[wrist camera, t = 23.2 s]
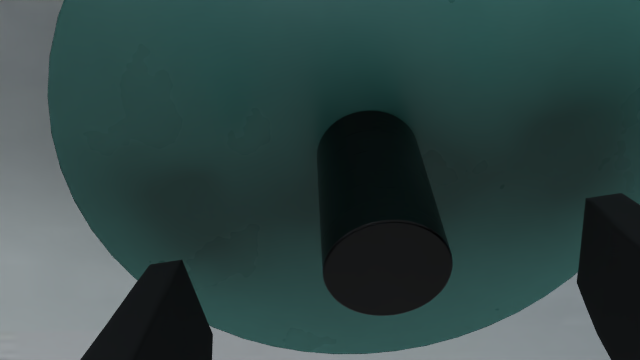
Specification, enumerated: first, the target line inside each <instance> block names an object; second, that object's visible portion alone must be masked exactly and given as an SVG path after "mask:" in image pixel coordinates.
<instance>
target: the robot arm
mask: <svg viewBox="0 0 640 360" xmlns="http://www.w3.org/2000/svg"><path fill="white" fill-rule="evenodd" d="M577 284H578V287H579V289H580V292H581V294H582V297H583V300H584V302H585V305H586V308H587V310H588V313H589V315H590V317H591V320H592V322H593V325H594V327H595V330H596V332H597V334H598V336H599V338H600V340H601V342H602V344H603V346H604V347H605V349H606V351H607V353H608V355H609V356H610V358H611V360H640V205H639V204H638V203H636V202H635V201H633V200H632V199H630V198H629V197H627V196H626V195H624V194H623V193H618V194H611V195H605V196H598V197H591V198H586V200H585V209H584V219H583V229H582V238H581V248H580V258H579V267H578V277H577ZM212 340H213V334H212V331H211V329H210V327H209V324H208V322H207V319H206V317H205V314H204V312H203V309H202V307H201V305H200V302H199V300H198V297H197V295H196V292H195V290H194V288H193V285H192V283H191V280H190V278H189V275H188V273H187V270H186V268H185V266H184V263H183V261H182V260H176V261H169V262H163V263H156V264H150V265H149V266H148V268H147V269H146V270H145V272H144V273H143V274H142V276H141V277H140V278H139V280H138V281H137V283H136V284H135V285H134V287H133V288H132V290H131V291H130V292H129V294H128V295H127V297H126V298H125V299H124V301H123V302H122V304H121V305H120V306H119V308H118V309H117V311H116V312H115V313H114V315H113V316H112V318H111V319H110V320H109V322H108V323H107V325H106V326H105V327H104V329H103V330H102V331H101V333H100V334H99V335H98V337H97V338H96V339H95V341H94V342H93V343H92V345H91V346H90V348H89V349H88V350H87V352H86V353H85V354H84V356H83V357H82V358H81V360H212Z"/></svg>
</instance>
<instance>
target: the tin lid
mask: <svg viewBox="0 0 640 360" xmlns="http://www.w3.org/2000/svg"><path fill="white" fill-rule="evenodd" d="M48 105H49V114H50V124H51V133H52V137H53V141H54V145H55V149H56V153H57V156H58V160H59V164H60V168H61V171H62V173H63V175H64V178H65V180H66V182H67V185H68V187H69V189H70V192H71V194H72V197H73V199H74V201H75V203H76V204H77V206H78V208H79V209H80V211H81V213H82V215H83V216H84V218H85V220H86V221H87V223H88V225H89V226H90V228H91V230H92V231H93V232H94V233H95V235H96V236H97V237H98V238H99V240H100V241H101V242H102V244H103V245H104V246H105V247H106V249H107V250H108V251H109V252H110V254H111V255H112V256H113V257H114V258H115V259H116V260H117V261H118V262H119V263H120V264H121V265H122V266H123V267H124V268H125V269H126V270H127V271H128V272H129V273H130V274H131V275H132V276H133V277H134V278H135V279H137V280H139V278H140V277H141V276H142V274H143V273H144V272H145V270H146V269H147V268H148V266H149V265H150V264H156V263H163V262H169V261H176V260H182V261H183V263H184V266H185V268H186V270H187V273H188V275H189V278H190V280H191V283H192V285H193V288H194V290H195V292H196V295H197V297H198V300H199V302H200V305H201V307H202V309H203V312H204V314H205V317H206V319H207V322H208V324H209V325H210V326H212V327H214V328H216V329H219V330H222V331H224V332H227V333H230V334H233V335H235V336H238V337H241V338H244V339H247V340H251V341H255V342H259V343H262V344H266V345H270V346H274V347H280V348H286V349H292V350H297V351H303V352H316V353H328V354H368V353H379V352H390V351H399V350H404V349H410V348H415V347H421V346H427V345H430V344H434V343H438V342H442V341H445V340H449V339H453V338H457V337H460V336H462V335H465V334H468V333H471V332H473V331H476V330H479V329H482V328H484V327H487V326H489V325H492V324H494V323H496V322H498V321H500V320H502V319H504V318H507V317H509V316H511V315H513V314H515V313H517V312H519V311H521V310H522V309H524V308H526V307H528V306H529V305H531V304H533V303H534V302H536V301H538V300H540V299H541V298H543V297H545V296H546V295H548V294H549V293H550V292H552V291H553V290H555V289H556V288H557V287H559V286H560V285H562V284H563V283H564V282H566V281H567V280H569V279H570V278H571V277H573V276H574V275H575V274H576V273H577V272H578V267H579V258H580V248H581V238H582V229H583V219H584V209H585V200H586V198H591V197H598V196H605V195H611V194H618V193H623V194H624V195H626V196H627V197H629V198H630V199H632V200H633V201H635V202H636V203H638V204H640V0H64V2H63V4H62V7H61V10H60V12H59V15H58V18H57V23H56V28H55V33H54V37H53V42H52V47H51V52H50V57H49V76H48Z"/></svg>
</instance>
